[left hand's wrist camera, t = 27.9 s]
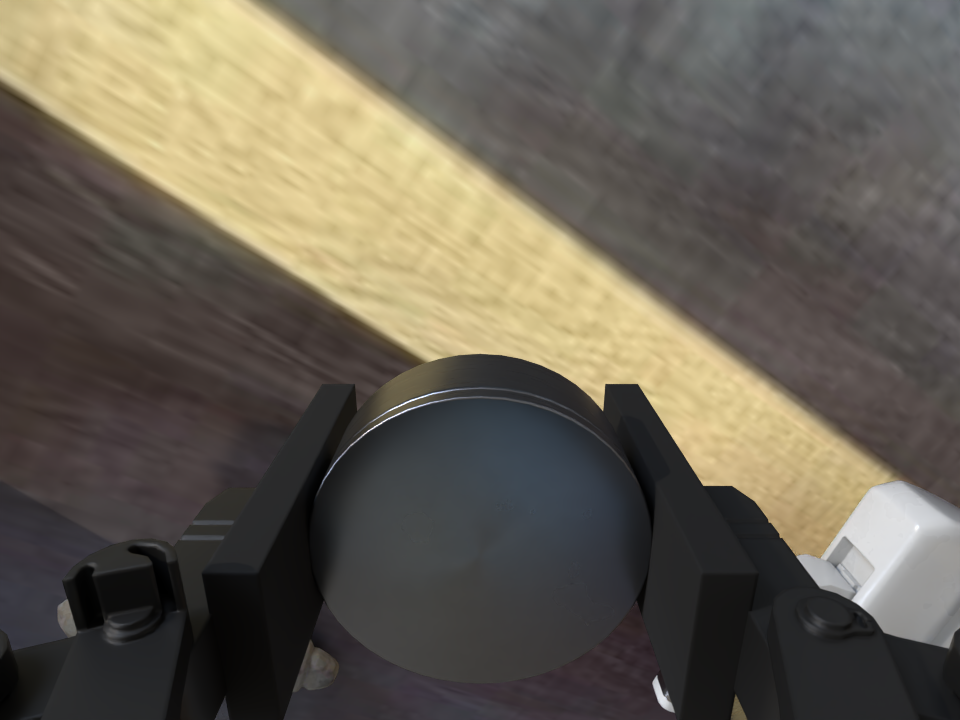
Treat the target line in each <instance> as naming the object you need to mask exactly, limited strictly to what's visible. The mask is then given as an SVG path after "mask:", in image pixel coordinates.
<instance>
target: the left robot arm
mask: <svg viewBox="0 0 960 720" xmlns="http://www.w3.org/2000/svg"><path fill="white" fill-rule="evenodd" d="M603 412H604V414H605V415H606V417H607V418H608V420H609V421H610V423H611V424H612V426H613V428H614V430H615V432H616V435H617V437H618V439H619V441H620V443H621V445H622V448H623V450H624V452H625V454H626V456H627V458H628V461H629V463H630V465H631V467H632V469H633V472H634V474H635V476H636V478H637V480H638V482H639V485H640V487H641V489H642V491H643V493H644V495H645V498H646V502H647V505H648V509H649V512H650V517H651V525H652V547H651V556H650V564H649V570H648V574H647V577H646V579H645V582H644V585H643V588H642V590H641V592H640V594H639V596H638V598H637V602H638V605H639V608H640V611H641V614H642V617H643V620H644V623H645V626H646V629H647V632H648V635H649V638H650V641H651V644H652V647H653V650H654V653H655V656H656V658H657V661H658V664H659V667H660V670H661V673H662V676H663V679H664V682H665V685H666V688H667V691H668V694H669V697H670V700H671V703H672V706H673V709H674V712H675V715H676V717H677V720H731V715H732V710H733V705H734V700H735V695H736V696H737V698H738V700H739V702H740V705H741V707H742V709H743V711H744V713H745V715H746V718H747V720H960V628H959V629H958V630H957V631H955V632H954V635H953V638H952V641H951V644H950V647H949V648H944V647H940V646H936V645H931V644H927V643H923V642H918V641H914V640H909V639H905V638H901V637H897V636H893V635H890V634H887V633H884V632H883V631H882V629H881V628H880V626H879V625H878V623H877V622H876V620H875V619H874V617H873V616H872V615H870V614H869V613H868V612H867V611H865V610H864V609H863V608H862V607H860V606H859V605H858V604H857V603H855V602H853V601H851V600H849V599H847V598H845V597H843V596H841V595H839V594H837V593H834V592H831V591H827V590H824V589H821V588H820V587H819V586H818V585H817V583H816V582H815V581H814V579H813V578H812V577H811V575H810V574H809V573H808V571H807V570H806V569H805V568H804V566H803V565H802V564H801V562H800V561H799V560H798V558H797V557H796V556H795V554H794V553H793V552H792V550H791V549H790V548H789V546H788V545H787V544H786V542H785V541H784V540H783V538H780V537H779V533H778V532H777V531H776V529H775V528H774V527H773V525H772V524H771V523H768V519H767V517H766V516H765V515H764V513H763V512H762V511H761V509H760V508H759V507H758V505H757V504H756V503H755V501H753V500H752V499H750V498H749V497H747V496H746V495H744V494H743V493H741V492H740V491H738V490H737V489H736V488H734V487H733V486H703V485H702V483H701V482H700V480H699V479H698V477H697V476H696V474H695V472H694V471H693V469H692V468H691V466H690V465H689V463H688V462H687V460H686V458H685V457H684V455H683V454H682V452H681V451H680V449H679V448H678V446H677V444H676V443H675V441H674V440H673V438H672V437H671V435H670V434H669V432H668V430H667V429H666V427H665V426H664V424H663V423H662V421H661V420H660V418H659V416H658V415H657V413H656V412H655V410H654V409H653V407H652V406H651V404H650V402H649V401H648V399H647V398H646V396H645V395H644V393H643V392H642V390H641V388H640V387H639V385H638V384H605V397H604V410H603ZM356 413H357V405H356V392H355V384H322V386H321V387H320V389H319V391H318V392H317V394H316V395H315V397H314V398H313V400H312V401H311V403H310V405H309V406H308V408H307V409H306V411H305V412H304V414H303V415H302V417H301V419H300V420H299V422H298V423H297V425H296V426H295V428H294V429H293V431H292V433H291V434H290V436H289V437H288V439H287V440H286V442H285V443H284V445H283V447H282V448H281V450H280V451H279V453H278V454H277V456H276V457H275V459H274V461H273V462H272V464H271V465H270V467H269V468H268V470H267V471H266V473H265V475H264V476H263V478H262V479H261V481H260V482H259V484H258V486H257V487H256V488H228V489H226V490H225V491H224V492H222V493H221V494H219V495H218V496H216V497H215V498H213V499H212V500H210V501H209V502H208V503H206V504H205V506H204V507H203V508H202V510H201V511H200V512H199V514H198V515H197V516H196V518H195V519H194V520H193V524H192V525H190V526H189V527H188V528H187V530H186V531H185V532H184V534H183V535H182V536H181V537H182V538H181V540H178V542H177V543H176V544H175V546H174V547H172V546H171V545H170V544H169V543H167V542H165V541H160V540H156V539H137V540H130V541H126V542H122V543H118V544H114V545H111V546H108V547H106V548H104V549H102V550H100V551H97V552H95V553H93V554H91V555H89V556H88V557H86V558H85V559H84V560H82V561H81V562H79V563H78V564H77V565H75V566H74V567H73V568H72V569H71V570H70V571H69V573H68V574H67V575H66V576H65V578H64V579H63V580H62V582H63V585H64V589H65V592H66V596H67V599H68V602H69V606H70V609H71V613H72V616H73V620H74V623H75V626H76V630H77V634H76V636H72V637H69V638H66V639H62V640H58V641H53V642H49V643H45V644H40V645H36V646H32V647H27V648H23V649H19V650H14V651H12V648H11V645H10V642H9V639H8V636H7V634H5V633H4V632H3V631H2V630H0V720H214V719H215V717H216V715H217V713H218V711H219V709H220V706H221V704H222V702H223V700H224V698H226V703H227V708H228V713H229V719H230V720H283V719H284V716H285V713H286V710H287V707H288V704H289V701H290V698H291V695H292V692H293V689H294V686H295V683H296V680H297V677H298V674H299V671H300V668H301V665H302V663H303V660H304V657H305V654H306V651H307V648H308V645H309V642H310V639H311V636H312V633H313V630H314V627H315V624H316V621H317V618H318V615H319V612H320V609H321V606H322V604H323V601H324V599H323V597H322V595H321V594H320V592H319V590H318V587H317V584H316V581H315V579H314V576H313V573H312V568H311V560H310V552H309V543H308V527H309V519H310V513H311V510H312V506H313V503H314V499H315V496H316V494H317V492H318V489H319V487H320V485H321V483H322V481H323V479H324V476H325V474H326V472H327V470H328V468H329V466H330V463H331V461H332V459H333V457H334V455H335V453H336V450H337V448H338V446H339V444H340V442H341V440H342V437H343V435H344V433H345V431H346V429H347V427H348V425H349V423H350V422H351V420H352V419H353V417H354V416H355V414H356Z"/></svg>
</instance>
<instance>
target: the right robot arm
mask: <svg viewBox="0 0 960 720" xmlns="http://www.w3.org/2000/svg"><path fill="white" fill-rule="evenodd" d="M796 557H797V558H798V560H799V561H800V562H801V564H802V565H803V566H804V568H805V569H806V570H807V571H808V573H809V574H810V575H811V577H812V578H813V579H814V581H815V582H816V583H817V585H818V586H819V587H820V588H821V589H824V590H827V591H831V592H834V593H837V594H839V595H841V596H843V597H845V598H847V599H849V600H851V601H853V602H855V603H857V604H858V605H859V606H860V607H862V608H863V609H864V610H865V611H867V612H868V613H869V614H870V615H872V616H873V617H874V619H875V620H876V622H877V623H878V625H879V626H880V628H881V629H882V631H883V632H884V633H887V634H890V635H893V636H897V637H901V638H905V639H909V640H914V641H918V642H923V643H927V644H931V645H936V646H940V647H944V648H949V647H950V644H951V641H952V638H953V635H954V632H955V631H957V630H958V629H959V628H960V508H958V507H956V506H954V505H953V504H951V503H949V502H947V501H946V500H944V499H942V498H940V497H938V496H936V495H934V494H932V493H930V492H928V491H926V490H924V489H922V488H919V487H917V486H915V485H913V484H910V483H908V482H905V481H900V480H897V481H893V482H888V483H884V484H880V485H876V486H873V487H872V488H870V489H869V490H868V491H867V493H866V494H865V495H864V497H863V498H862V500H861V501H860V502H859V504H858V505H857V507H856V508H855V510H854V511H853V512H852V514H851V515H850V517H849V518H848V520H847V521H846V522H845V524H844V525H843V527H842V528H841V530H840V531H839V532H838V534H837V535H836V537H835V538H834V540H833V541H832V542H831V544H830V545H829V547H828V548H827V549H826V551H825V552H824V554H823V555H822V557H821V558H817V557H814V556H811V555H808V554H804V555H798V556H796ZM653 687H654V690H655V693H656V696H657V699H658V702H659V703H660V705H661V706H662V707H663V708H664V709H666V710H667V711H670V712H674V709H673V706H672V703H671V700H670V697H669V694H668V691H667V688H666V685H665V682H664V679H663V676H662V673H661V670H660V671H659V672H658V674H657V676H656V678H655V679H654V681H653ZM674 713H675V712H674Z"/></svg>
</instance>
